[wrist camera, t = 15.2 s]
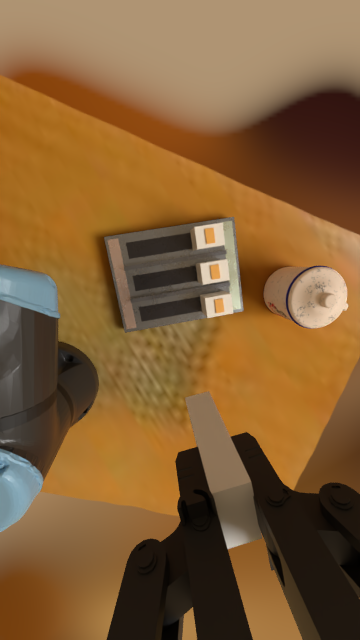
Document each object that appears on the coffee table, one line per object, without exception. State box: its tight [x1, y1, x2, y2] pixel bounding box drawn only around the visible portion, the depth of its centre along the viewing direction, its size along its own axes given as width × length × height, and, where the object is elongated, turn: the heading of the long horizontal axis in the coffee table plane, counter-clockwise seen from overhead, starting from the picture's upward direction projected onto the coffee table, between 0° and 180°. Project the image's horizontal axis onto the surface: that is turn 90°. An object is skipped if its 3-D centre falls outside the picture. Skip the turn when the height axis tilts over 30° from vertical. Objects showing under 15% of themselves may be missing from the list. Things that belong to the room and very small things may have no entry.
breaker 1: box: [190, 223, 225, 251], centre depth 37 cm, size 4×3×4 cm
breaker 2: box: [196, 259, 230, 285], centre depth 38 cm, size 4×3×4 cm
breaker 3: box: [200, 291, 233, 318], centre depth 39 cm, size 4×3×4 cm
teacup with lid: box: [264, 266, 348, 328], centre depth 39 cm, size 12×9×12 cm
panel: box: [104, 217, 244, 333], centre depth 41 cm, size 20×15×3 cm
